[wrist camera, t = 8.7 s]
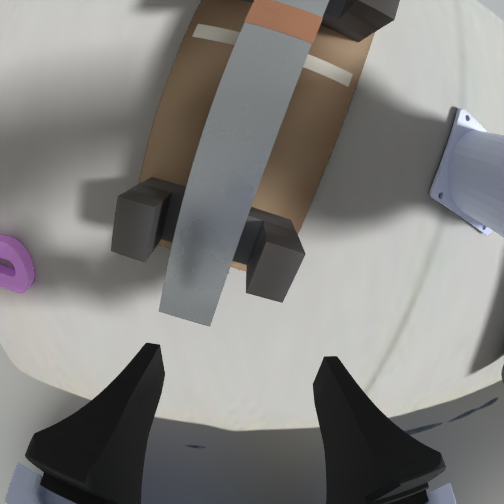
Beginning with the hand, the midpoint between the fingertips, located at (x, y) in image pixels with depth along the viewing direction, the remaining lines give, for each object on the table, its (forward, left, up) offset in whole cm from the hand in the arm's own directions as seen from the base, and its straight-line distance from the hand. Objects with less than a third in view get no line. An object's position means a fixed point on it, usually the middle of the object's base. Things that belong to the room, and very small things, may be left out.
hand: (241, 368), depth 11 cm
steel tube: (+3, -10, -7) cm, 12 cm away
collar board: (+3, -11, -9) cm, 15 cm away
